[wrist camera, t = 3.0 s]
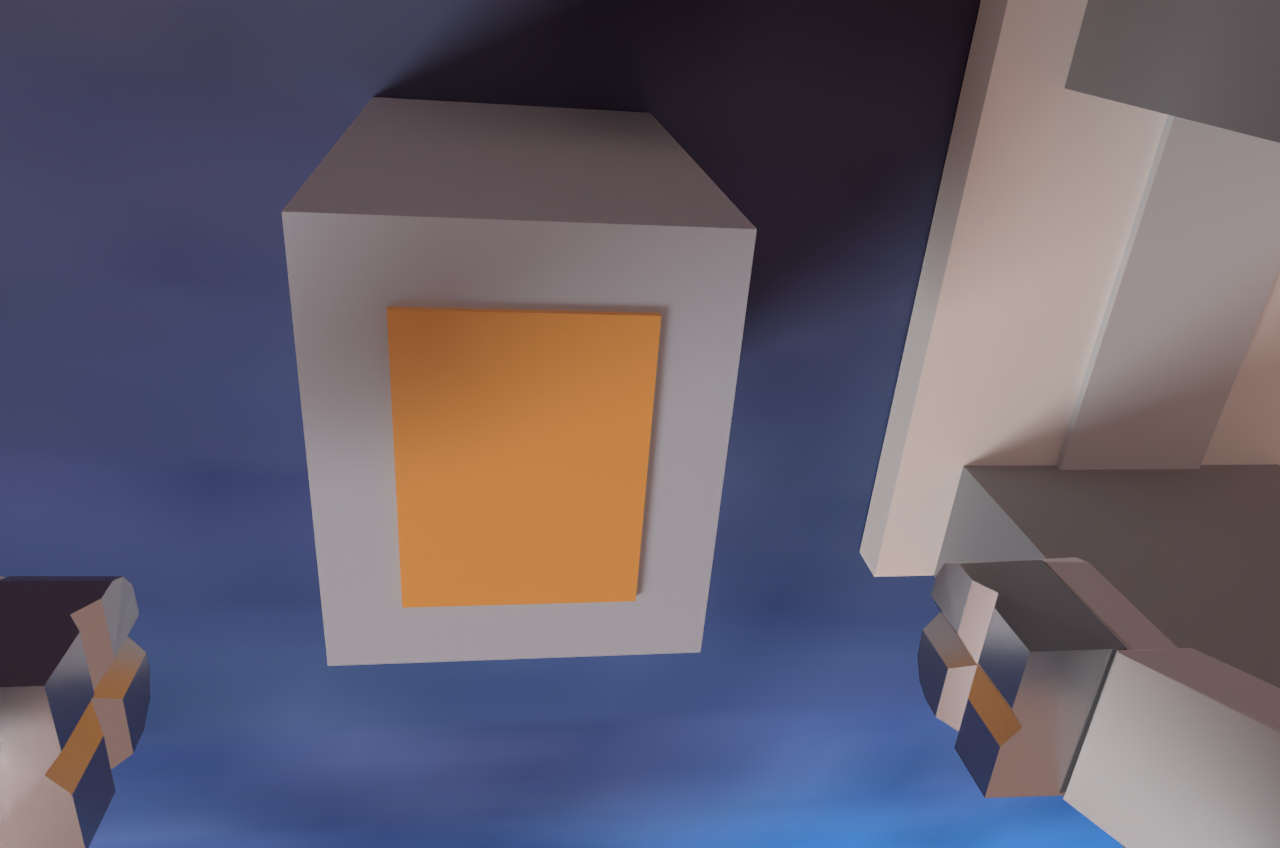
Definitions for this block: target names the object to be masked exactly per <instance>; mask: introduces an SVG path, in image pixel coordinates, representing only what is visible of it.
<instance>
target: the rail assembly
mask: <svg viewBox="0 0 1280 848" xmlns="http://www.w3.org/2000/svg"><path fill="white" fill-rule="evenodd" d="M860 554H861V556H862V557H863V559H864V561H865V562H866V564H867V566H868V567H869V569H870V571H871V572H872V574H873V576H874V577H890V576H931V575H934V576H935V578H936V576H937V574H938V573H939V571H940V570H941V568H942V567H943V565H944V564H945V563H970V562H997V561H1025V560H1032V559H1050V558H1068V557H1076V558H1079V559H1081V560H1084V561H1087V562H1089V563H1090V564H1091V565H1092V566H1093V567H1094V568H1095V569H1096V570H1097V571H1098V572H1099V573H1100V574H1102V575H1103V576H1104V577H1105V578H1106V579H1107V580H1108V581H1109V582H1110V583H1111V584H1112V585H1113V586H1114V587H1115V588H1116V589H1117V590H1118V591H1119V592H1120V593H1121V594H1122V595H1123V596H1124V597H1125V598H1126V599H1127V600H1128V601H1130V602H1131V603H1132V604H1133V605H1134V606H1135V607H1136V608H1137V609H1138V610H1139V611H1140V612H1141V613H1142V614H1143V615H1144V616H1145V617H1146V618H1147V619H1148V620H1149V621H1150V622H1151V623H1152V624H1153V625H1154V626H1155V627H1157V628H1158V629H1159V630H1160V631H1161V632H1162V633H1163V634H1164V635H1165V636H1166V637H1167V638H1168V639H1169V640H1170V641H1171V642H1172V643H1173V644H1174V645H1175V646H1176V647H1177V648H1193V649H1195V650H1197V651H1199V652H1202V653H1204V654H1206V655H1208V656H1210V657H1213V658H1215V659H1217V660H1219V661H1221V662H1224V663H1226V664H1228V665H1230V666H1232V667H1234V668H1237V669H1239V670H1241V671H1243V672H1245V673H1248V674H1250V675H1252V676H1254V677H1256V678H1259V679H1261V680H1263V681H1265V682H1267V683H1269V684H1272V685H1274V686H1276V687H1278V688H1280V0H981V2H980V7H979V11H978V16H977V20H976V25H975V29H974V34H973V39H972V43H971V48H970V52H969V57H968V61H967V66H966V70H965V75H964V80H963V84H962V89H961V93H960V98H959V102H958V107H957V111H956V116H955V120H954V125H953V130H952V134H951V139H950V143H949V148H948V152H947V157H946V161H945V166H944V170H943V175H942V180H941V184H940V189H939V193H938V198H937V202H936V207H935V211H934V216H933V220H932V225H931V230H930V234H929V239H928V243H927V248H926V252H925V257H924V261H923V266H922V270H921V275H920V280H919V284H918V289H917V293H916V298H915V302H914V307H913V311H912V316H911V320H910V325H909V330H908V334H907V339H906V343H905V348H904V352H903V357H902V361H901V366H900V370H899V375H898V380H897V384H896V389H895V393H894V398H893V402H892V407H891V411H890V416H889V420H888V425H887V430H886V434H885V439H884V443H883V448H882V452H881V457H880V461H879V466H878V470H877V475H876V480H875V484H874V489H873V493H872V498H871V502H870V507H869V511H868V516H867V521H866V525H865V530H864V534H863V539H862V543H861V548H860ZM1121 845H1122V844H1121ZM1122 846H1123V845H1122ZM1123 848H1126V847H1124V846H1123Z"/></svg>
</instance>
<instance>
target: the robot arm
mask: <svg viewBox="0 0 1280 848" xmlns="http://www.w3.org/2000/svg"><path fill="white" fill-rule="evenodd" d="M931 596H932V598H933V600H934V602H935V603H936V605H937V607H938V609H939V611H940V613H939V614H938V615H937V616H936V617H935V618H934V619H933V620H932V621H931V622H930V623H929V624H928V625H927V626H926V627H925V628H924V629H923V631H922V636H921V641H920V646H919V650H918V668H919V681H920V684H921V687H922V690H923V693H924V696H925V699H926V701H927V703H928V704H929V706H930V708H931V710H932V711H933V713H934V715H935V717H937V718H938V719H940V720H942V721H943V722H945V723H946V724H948V725H949V726H951V727H952V728H954V729H955V730H957V731H959V733H958V737H957V740H956V744H955V750H956V751H957V753H958V755H959V756H960V758H961V760H962V761H963V763H964V765H965V766H966V768H967V769H968V771H969V773H970V774H971V776H972V778H973V779H974V781H975V783H976V784H977V786H978V788H979V789H980V791H981V792H982V794H983V796H984V797H985V798H993V797H1025V796H1056V795H1064V798H1063V799H1064V800H1065V801H1066V802H1067V803H1069V804H1070V805H1071V806H1073V807H1074V808H1075V809H1077V810H1078V811H1079V812H1080V813H1082V814H1083V815H1084V816H1086V817H1087V818H1088V819H1090V820H1091V821H1092V822H1093V823H1095V824H1096V825H1097V826H1099V827H1100V828H1101V829H1102V830H1104V831H1105V832H1106V833H1108V834H1109V835H1110V836H1112V837H1113V838H1114V839H1115V840H1117V841H1118V842H1119V843H1121V844H1122V845H1123V846H1124V847H1126V848H1280V688H1278V687H1276V686H1274V685H1272V684H1269V683H1267V682H1265V681H1263V680H1261V679H1259V678H1256V677H1254V676H1252V675H1250V674H1248V673H1245V672H1243V671H1241V670H1239V669H1237V668H1234V667H1232V666H1230V665H1228V664H1226V663H1224V662H1221V661H1219V660H1217V659H1215V658H1213V657H1210V656H1208V655H1206V654H1204V653H1202V652H1199V651H1197V650H1195V649H1193V648H1177V647H1176V646H1175V645H1174V644H1173V643H1172V642H1171V641H1170V640H1169V639H1168V638H1167V637H1166V636H1165V635H1164V634H1163V633H1162V632H1161V631H1160V630H1159V629H1158V628H1157V627H1155V626H1154V625H1153V624H1152V623H1151V622H1150V621H1149V620H1148V619H1147V618H1146V617H1145V616H1144V615H1143V614H1142V613H1141V612H1140V611H1139V610H1138V609H1137V608H1136V607H1135V606H1134V605H1133V604H1132V603H1131V602H1130V601H1128V600H1127V599H1126V598H1125V597H1124V596H1123V595H1122V594H1121V593H1120V592H1119V591H1118V590H1117V589H1116V588H1115V587H1114V586H1113V585H1112V584H1111V583H1110V582H1109V581H1108V580H1107V579H1106V578H1105V577H1104V576H1103V575H1102V574H1100V573H1099V572H1098V571H1097V570H1096V569H1095V568H1094V567H1093V566H1092V565H1091V564H1090V563H1089V562H1087V561H1084V560H1081V559H1079V558H1076V557H1068V558H1050V559H1032V560H1025V561H997V562H970V563H945V564H944V565H943V567H942V568H941V570H940V571H939V573H938V574H937V576H936V580H935V583H934V587H933V591H932V595H931ZM138 616H139V611H138V607H137V603H136V598H135V594H134V590H133V585H132V584H131V583H130V582H128V581H127V580H126V579H125V578H124V577H123V576H9V577H7V578H6V577H2V576H0V848H89V845H90V843H91V841H92V839H93V837H94V835H95V833H96V831H97V829H98V827H99V825H100V823H101V820H102V818H103V816H104V814H105V812H106V810H107V808H108V806H109V804H110V802H111V800H112V797H113V795H114V793H115V787H114V782H113V777H112V773H111V769H112V768H114V767H115V766H116V765H118V764H119V763H121V762H122V761H123V760H125V759H126V758H128V757H129V756H130V755H132V754H133V753H134V751H135V748H136V746H137V744H138V742H139V739H140V737H141V735H142V733H143V730H144V727H145V722H146V717H147V712H148V707H149V702H150V671H149V665H148V659H147V653H146V652H145V651H144V650H143V649H142V648H140V647H139V646H138V645H137V644H136V643H135V642H134V641H133V640H131V639H130V638H129V637H128V634H129V632H130V630H131V628H132V626H133V625H134V623H135V621H136V619H137V617H138Z"/></svg>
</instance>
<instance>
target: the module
mask: <svg viewBox="0 0 1280 848" xmlns="http://www.w3.org/2000/svg"><path fill="white" fill-rule="evenodd" d="M282 220H283V230H284V240H285V250H286V260H287V269H288V279H289V289H290V299H291V309H292V319H293V328H294V338H295V348H296V358H297V368H298V378H299V388H300V397H301V407H302V417H303V427H304V437H305V447H306V456H307V466H308V476H309V486H310V496H311V506H312V515H313V525H314V535H315V545H316V555H317V565H318V574H319V584H320V594H321V604H322V614H323V624H324V633H325V643H326V653H327V663H328V666H339V665H367V664H394V663H421V662H449V661H476V660H503V659H531V658H558V657H585V656H613V655H640V654H668V653H695V652H701V644H702V637H703V629H704V622H705V614H706V607H707V599H708V592H709V584H710V577H711V569H712V562H713V554H714V547H715V539H716V532H717V524H718V517H719V509H720V502H721V494H722V487H723V479H724V472H725V464H726V457H727V449H728V442H729V434H730V427H731V419H732V412H733V404H734V397H735V389H736V382H737V374H738V367H739V359H740V352H741V344H742V337H743V329H744V322H745V314H746V307H747V299H748V292H749V284H750V277H751V269H752V262H753V254H754V247H755V239H756V232H757V229H756V228H755V227H754V226H753V224H752V223H751V222H750V221H749V220H748V219H747V218H746V217H745V216H744V215H743V214H742V212H741V211H740V210H739V209H738V208H737V207H736V206H735V205H734V204H733V203H732V202H731V200H730V199H729V198H728V197H727V196H726V195H725V194H724V193H723V192H722V191H721V190H720V188H719V187H718V186H717V185H716V184H715V183H714V182H713V181H712V180H711V179H710V178H709V176H708V175H707V174H706V173H705V172H704V171H703V170H702V169H701V168H700V167H699V166H698V164H697V163H696V162H695V161H694V160H693V159H692V158H691V157H690V156H689V155H688V154H687V152H686V151H685V150H684V149H683V148H682V147H681V146H680V145H679V144H678V143H677V142H676V140H675V139H674V138H673V137H672V136H671V135H670V134H669V133H668V132H667V131H666V130H665V128H664V127H663V126H662V125H661V124H660V123H659V122H658V121H657V120H656V119H655V118H654V116H653V115H652V114H651V113H646V112H628V111H611V110H593V109H575V108H558V107H540V106H522V105H504V104H487V103H469V102H451V101H433V100H416V99H398V98H380V97H372V99H371V100H370V101H369V102H368V104H367V105H366V106H365V108H364V109H363V110H362V111H361V113H360V114H359V115H358V116H357V118H356V119H355V120H354V121H353V123H352V124H351V125H350V126H349V128H348V129H347V130H346V131H345V133H344V134H343V135H342V136H341V138H340V139H339V140H338V141H337V143H336V144H335V145H334V146H333V148H332V149H331V150H330V151H329V153H328V154H327V155H326V156H325V158H324V159H323V160H322V161H321V163H320V164H319V165H318V166H317V168H316V169H315V170H314V172H313V173H312V174H311V175H310V177H309V178H308V179H307V180H306V182H305V183H304V184H303V185H302V187H301V188H300V189H299V190H298V192H297V193H296V194H295V195H294V197H293V198H292V199H291V200H290V202H289V203H288V204H287V205H286V207H285V208H284V209H283V210H282Z"/></svg>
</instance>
